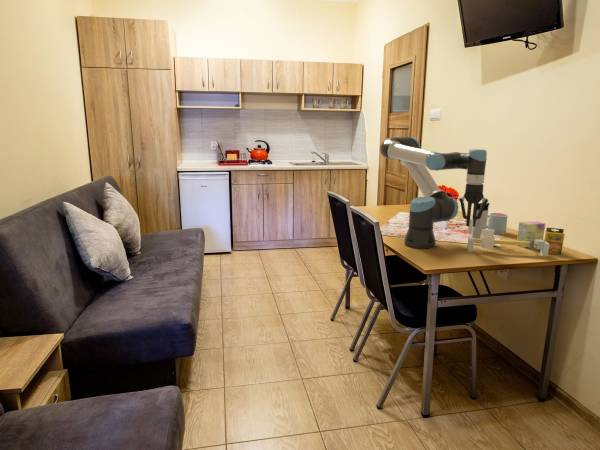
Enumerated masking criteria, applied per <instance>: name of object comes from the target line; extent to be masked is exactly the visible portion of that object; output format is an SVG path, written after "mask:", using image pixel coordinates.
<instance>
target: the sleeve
mask: <svg viewBox="0 0 600 450" xmlns="http://www.w3.org/2000/svg"><path fill="white" fill-rule="evenodd" d="M494 235H495V234H494V230H488V228H486V229H482V235H481V237H480V239H482V243H479V245H480V247H481V248H489V249H494V245H495V244H494V240H495V237H494Z"/></svg>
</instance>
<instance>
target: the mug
mask: <svg viewBox="0 0 600 450" xmlns="http://www.w3.org/2000/svg"><path fill="white" fill-rule="evenodd" d="M508 217H509V215H508V214H505V213H501V212H490V213H488V217H487V219H488V221H487V223H488V224H487V226H486V229H488V230H494V235H505V234H506V232H507V231H506V230H507V226H508V225H507V224H508Z"/></svg>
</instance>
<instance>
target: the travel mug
mask: <svg viewBox="0 0 600 450" xmlns="http://www.w3.org/2000/svg"><path fill="white" fill-rule="evenodd" d="M481 204H482V202H479V203H478V206H477V214H478V212H479V209H480V206H481ZM490 205H491V203H490V202H487V203H486V204H485V207H484V210H483V212H482V215H481V218H480V219H477V220H476V223H475V227H473V229H472V234H471V237H473V238H475V239H480V237H481V235H482V229H487V228H486V226H488V224H487V223H488V215H489V206H490ZM476 216H477V215H476Z"/></svg>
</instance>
